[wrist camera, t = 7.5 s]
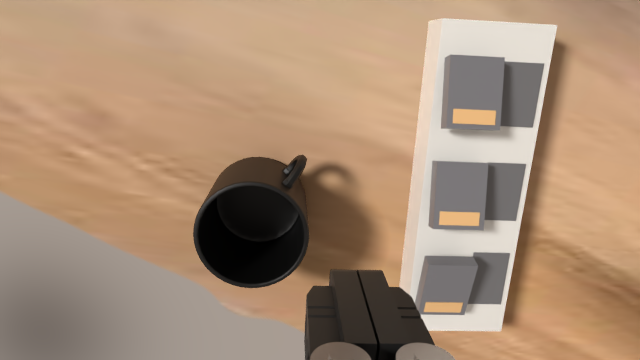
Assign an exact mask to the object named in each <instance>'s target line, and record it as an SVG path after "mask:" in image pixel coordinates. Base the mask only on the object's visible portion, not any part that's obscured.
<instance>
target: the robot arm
mask: <svg viewBox="0 0 640 360" xmlns="http://www.w3.org/2000/svg"><path fill="white" fill-rule="evenodd" d="M304 342H305V360H455V359H454V357H453V356H452V355H451V354H450V353H448V352H447V351H445V350H444V349H442V348H440V347H438V346H435V344H434V342H433V340H432V338H431V336H430V334H429V332H428V330H427V328H426V325H425V323H424V321H423V319H421V315H420V313H419V311H418V310H417V307H416V305H415V303H414V301H413V299H412V297H411V296H410V295H409V294H408V293H406V292H405V291H404V290H403V289H402V288H400V287H389V286H388V283H387V281H386V278H385V276H384V274H383V271H382V270H357V271H356V270H338V269H331V271H330V280H329V286H313V287H312V289H311V290H310V291H309V293H308V294H307V299H306V320H305V340H304Z"/></svg>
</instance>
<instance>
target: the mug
mask: <svg viewBox="0 0 640 360" xmlns="http://www.w3.org/2000/svg"><path fill="white" fill-rule="evenodd" d="M306 161H307V158H306V157H305V156H304V155H299V156H297V157H295V158H294V159H293V160H292V161H291V162H290V164H289V165H288V166H286V165H284V164H282V163H280V162H278V161H276V160H273V159H269V158H264V157H251V158H246V159H242V160H240V161H237V162H235V163H233V164H231V165H230V166H229V167H227V168H226V169H225V170H224V171H223V172H222V173H221V174H220V175H219V177H218V178H217V180H216V182H215V184H214V185H213V187H212V189H211V191H210V192H209V194H208V196H207V197H206V199H205V201H204V203H203V204H202V206H201V208H200V210H199V212H198V214H197V216H196V219H195V224H194V232H193V237H194V244H195V248H196V251H197V253H198V255H199V258H200V259H201V261H202V262H203V264H204V265H205V267H206V268H207V269H208V270H209V271H210V272H211V273H212V274H214V275H215V276H216V277H218V278H219V279H221V280H223V281H224V282H227V283H229V284H232V285H235V286H239V287H245V288H259V287H265V286H269V285H272V284H275V283H277V282H279V281H281V280H283V279H285V278H286V277H287V276H289V275H290V274H291V273H292V272H293V271H294V270H295V269H296V268H297V267H298V266H299V264H300V263H301V261H302V260H303V258H304V256H305V253H306V250H307V247H308V241H309V228H308V217H307V206H306V196H305V191H304V188H303V186H302V184H301V182H300V180H299V176H300V175H301V173H302V172H303V170H304V168H305V165H306Z"/></svg>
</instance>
